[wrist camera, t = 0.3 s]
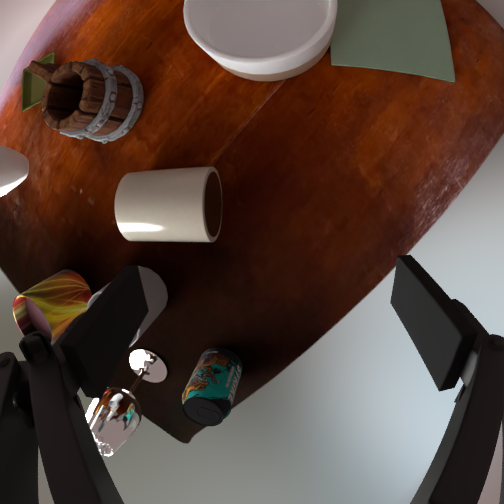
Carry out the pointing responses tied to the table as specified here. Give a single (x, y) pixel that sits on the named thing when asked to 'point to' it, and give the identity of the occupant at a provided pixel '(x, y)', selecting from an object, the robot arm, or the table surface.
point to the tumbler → (170, 205)
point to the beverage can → (212, 387)
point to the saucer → (34, 84)
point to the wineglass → (123, 404)
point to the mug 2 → (52, 304)
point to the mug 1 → (90, 99)
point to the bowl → (262, 34)
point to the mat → (393, 37)
